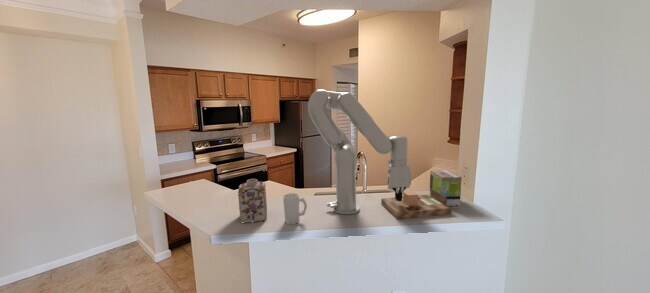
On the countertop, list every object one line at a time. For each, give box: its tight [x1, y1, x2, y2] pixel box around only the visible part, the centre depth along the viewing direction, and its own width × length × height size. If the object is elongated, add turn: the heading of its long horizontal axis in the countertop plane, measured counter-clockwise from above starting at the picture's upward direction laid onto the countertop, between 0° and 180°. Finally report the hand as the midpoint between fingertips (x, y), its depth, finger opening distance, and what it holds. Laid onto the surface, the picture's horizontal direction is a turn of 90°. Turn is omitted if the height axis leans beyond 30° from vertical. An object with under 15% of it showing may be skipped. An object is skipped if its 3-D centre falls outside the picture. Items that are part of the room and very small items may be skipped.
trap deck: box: [380, 189, 452, 220], centre depth 125 cm, size 26×19×7 cm
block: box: [402, 190, 419, 206], centre depth 125 cm, size 5×5×5 cm
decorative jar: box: [237, 178, 268, 224], centre depth 120 cm, size 12×12×18 cm
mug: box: [282, 192, 308, 225], centre depth 115 cm, size 10×7×12 cm, turn 90°
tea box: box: [429, 170, 462, 207], centre depth 134 cm, size 15×10×15 cm, turn 179°
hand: (398, 200), depth 124 cm, fingers closed
